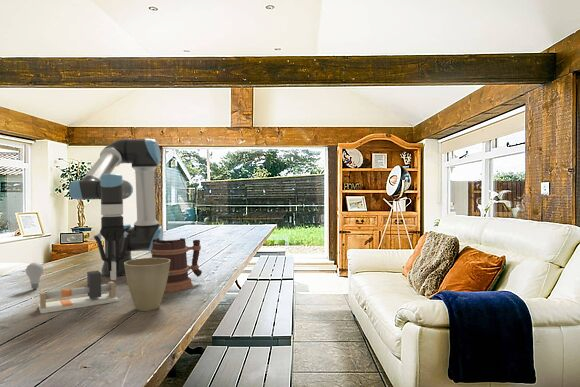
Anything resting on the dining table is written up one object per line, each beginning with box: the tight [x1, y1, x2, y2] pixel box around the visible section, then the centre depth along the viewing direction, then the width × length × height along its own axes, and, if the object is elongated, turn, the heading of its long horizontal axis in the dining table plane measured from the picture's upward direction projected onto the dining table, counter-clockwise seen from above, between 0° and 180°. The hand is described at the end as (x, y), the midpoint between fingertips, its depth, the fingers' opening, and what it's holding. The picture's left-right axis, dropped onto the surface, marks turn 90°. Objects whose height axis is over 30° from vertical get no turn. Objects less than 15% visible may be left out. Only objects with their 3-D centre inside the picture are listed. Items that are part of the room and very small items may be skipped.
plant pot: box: [124, 257, 170, 312], centre depth 139 cm, size 15×15×16 cm
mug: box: [149, 237, 203, 293], centre depth 169 cm, size 18×23×20 cm
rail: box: [38, 280, 119, 314], centre depth 145 cm, size 24×10×6 cm, turn 125°
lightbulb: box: [25, 262, 44, 290], centre depth 167 cm, size 6×6×11 cm
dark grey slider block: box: [86, 270, 102, 298], centre depth 147 cm, size 4×5×9 cm, turn 35°
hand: (113, 279), depth 151 cm, fingers closed
